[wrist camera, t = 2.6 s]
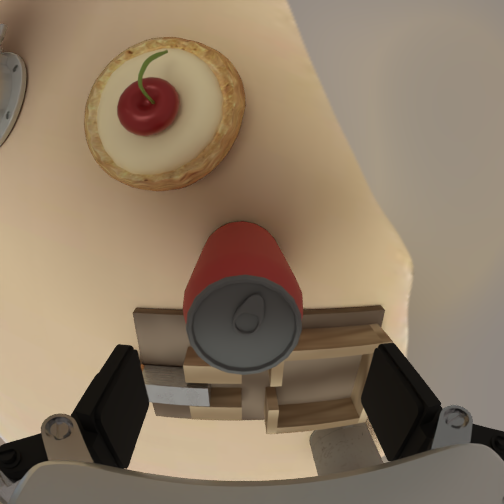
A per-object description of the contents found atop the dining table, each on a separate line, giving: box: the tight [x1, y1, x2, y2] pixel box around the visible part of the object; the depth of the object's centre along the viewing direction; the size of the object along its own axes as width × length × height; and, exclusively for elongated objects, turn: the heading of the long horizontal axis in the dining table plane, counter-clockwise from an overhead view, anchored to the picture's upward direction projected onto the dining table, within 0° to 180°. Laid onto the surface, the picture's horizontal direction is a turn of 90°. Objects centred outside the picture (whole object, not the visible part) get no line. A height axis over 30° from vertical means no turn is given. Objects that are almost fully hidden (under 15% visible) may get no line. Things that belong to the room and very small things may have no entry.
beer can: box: [183, 221, 303, 375], centre depth 19 cm, size 7×7×12 cm
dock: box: [133, 306, 393, 434], centre depth 26 cm, size 14×24×4 cm, turn 89°
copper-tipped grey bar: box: [140, 364, 212, 406], centre depth 24 cm, size 2×9×4 cm, turn 89°
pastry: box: [84, 37, 246, 191], centre depth 17 cm, size 12×12×9 cm
